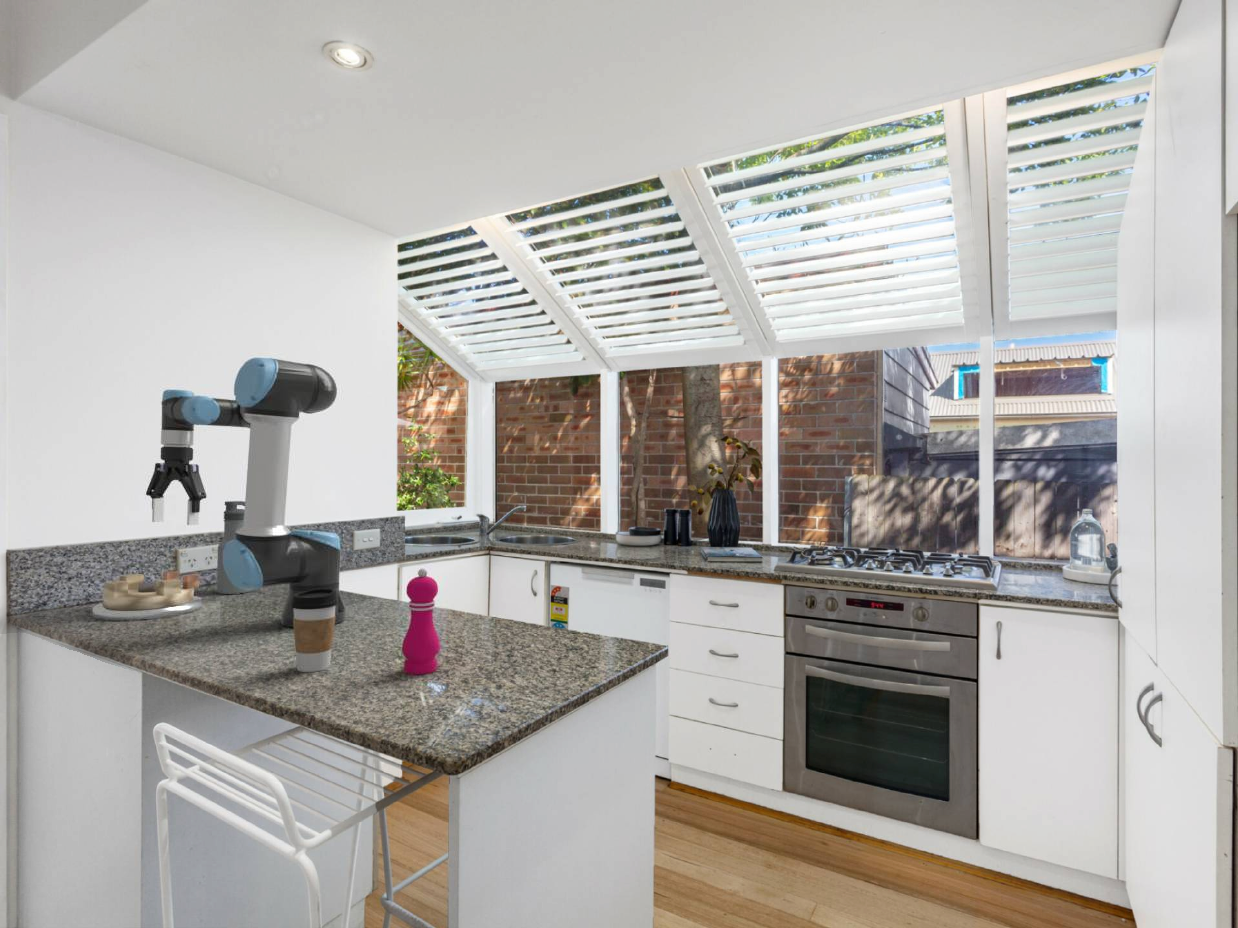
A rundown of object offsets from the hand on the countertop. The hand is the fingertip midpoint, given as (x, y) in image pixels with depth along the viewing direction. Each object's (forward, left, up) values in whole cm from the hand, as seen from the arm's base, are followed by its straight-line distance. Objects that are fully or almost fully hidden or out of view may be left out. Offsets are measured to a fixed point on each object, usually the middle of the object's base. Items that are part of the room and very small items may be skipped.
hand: (175, 523), depth 187 cm
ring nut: (-2, +6, -21) cm, 22 cm away
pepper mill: (-97, -22, -23) cm, 102 cm away
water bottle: (+13, -19, -23) cm, 33 cm away
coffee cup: (-82, -7, -23) cm, 85 cm away
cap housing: (-2, +6, -23) cm, 24 cm away
